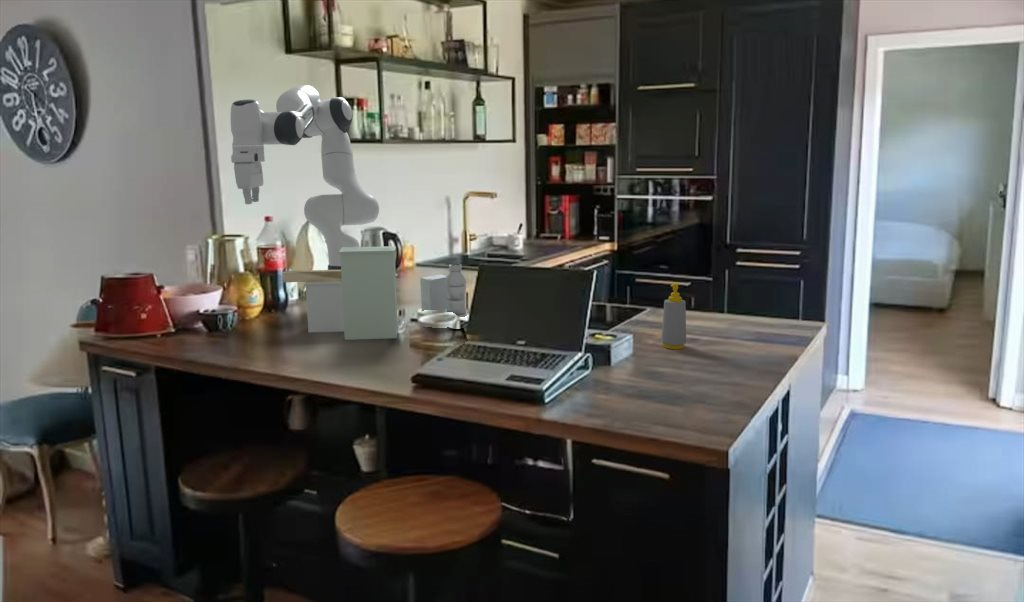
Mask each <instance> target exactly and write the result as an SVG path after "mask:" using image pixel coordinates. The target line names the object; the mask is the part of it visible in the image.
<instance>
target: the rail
mask: <svg viewBox="0 0 1024 602" xmlns="http://www.w3.org/2000/svg"><path fill="white" fill-rule="evenodd" d="M315 281H342V275H341V270H328V269H316V270H315V269H314V270H313V269H311V270H308V269H307V270H284V271H283V272H282V283H302V282H303V283H306V282H315Z"/></svg>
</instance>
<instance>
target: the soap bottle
mask: <svg viewBox="0 0 1024 602" xmlns="http://www.w3.org/2000/svg"><path fill="white" fill-rule="evenodd" d="M679 285H680V282H677V281H675V282H673V283H672V284H670V287H671V288H672V291H673V292H671V293H670V295H669V296H668V299H664V300H663V301H664V302H663V314H662V324H661V325H662V327H661V336H660V337H661V339H660V340H661V341H660V342H661V343H662V346H663V348H665V349H671V350H680V349H683V348H684V347H685V344H687V316H686V315H687V310H686V309H687V308H686V306H687V304H686V303H687V302H686V300H684V299H682V297H681V296H680V292H678V289H679Z"/></svg>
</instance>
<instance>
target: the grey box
mask: <svg viewBox="0 0 1024 602" xmlns="http://www.w3.org/2000/svg"><path fill="white" fill-rule="evenodd" d="M304 287H305V296H306V297H305V299H306V312H307V331H308V332H307V333H311V334H312V333H335V332H336V333H339V332H344V315H343V295H342V281H315V282H304Z"/></svg>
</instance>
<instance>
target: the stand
mask: <svg viewBox="0 0 1024 602" xmlns="http://www.w3.org/2000/svg"><path fill="white" fill-rule="evenodd" d="M396 249H397V248H396V245H394V246H392V245H389V246H360V247H343V248H342V249H341V250H340V251H339V254H340V256H341V275H342V295H343V315H344V331H343V332H344V333H343V334H344V341H347V340H349V341H350V340H353V341H354V340H356V341H357V340H379V339H397V338H398V333H399V329H398V324H399V323H398V304H397V302H398V300H397V282H396V281H397V275H396Z"/></svg>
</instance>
